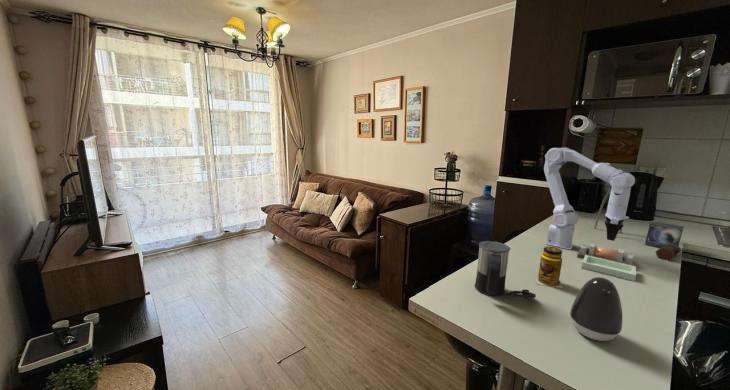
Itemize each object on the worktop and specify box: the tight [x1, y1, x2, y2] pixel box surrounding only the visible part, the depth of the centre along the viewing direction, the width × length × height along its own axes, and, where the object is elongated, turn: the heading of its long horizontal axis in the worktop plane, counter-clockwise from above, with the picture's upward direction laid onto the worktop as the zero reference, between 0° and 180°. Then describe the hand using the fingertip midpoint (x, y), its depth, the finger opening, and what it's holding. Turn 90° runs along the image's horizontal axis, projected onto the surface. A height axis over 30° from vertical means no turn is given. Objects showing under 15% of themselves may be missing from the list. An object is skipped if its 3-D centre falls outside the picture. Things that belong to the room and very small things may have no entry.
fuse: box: [588, 242, 625, 262], centre depth 119 cm, size 10×5×5 cm, turn 49°
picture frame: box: [644, 220, 684, 249], centre depth 133 cm, size 11×6×10 cm, turn 41°
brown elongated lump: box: [655, 244, 682, 262], centre depth 124 cm, size 6×5×15 cm
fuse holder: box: [576, 243, 634, 266], centre depth 119 cm, size 17×11×4 cm, turn 49°
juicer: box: [594, 187, 624, 234], centre depth 148 cm, size 10×11×30 cm
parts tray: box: [581, 255, 637, 282], centre depth 110 cm, size 15×9×2 cm, turn 49°
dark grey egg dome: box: [569, 276, 623, 342], centre depth 73 cm, size 10×10×15 cm
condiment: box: [533, 245, 564, 289], centre depth 100 cm, size 7×8×12 cm
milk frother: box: [474, 240, 537, 299], centre depth 92 cm, size 14×16×15 cm
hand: (610, 237), depth 118 cm, fingers open, 7 cm apart
